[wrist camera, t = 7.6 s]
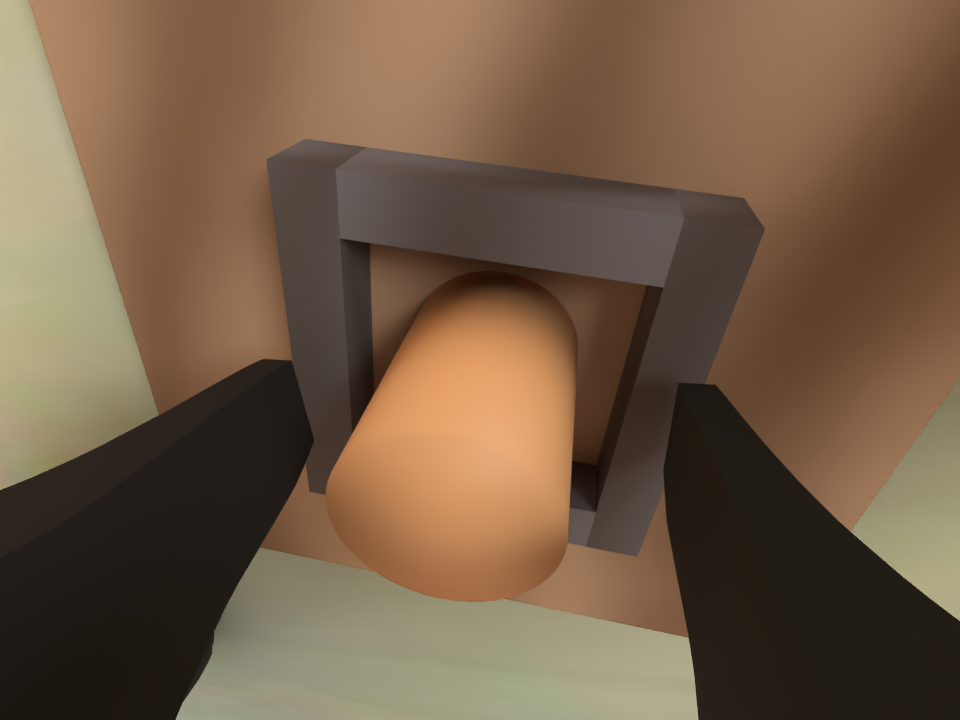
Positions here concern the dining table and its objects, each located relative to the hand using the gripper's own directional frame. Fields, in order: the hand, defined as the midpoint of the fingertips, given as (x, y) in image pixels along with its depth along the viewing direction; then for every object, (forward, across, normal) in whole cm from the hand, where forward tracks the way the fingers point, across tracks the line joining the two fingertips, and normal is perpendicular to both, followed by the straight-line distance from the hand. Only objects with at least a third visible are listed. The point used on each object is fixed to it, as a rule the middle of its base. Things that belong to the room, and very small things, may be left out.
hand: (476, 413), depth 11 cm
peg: (+2, 0, 0) cm, 2 cm away
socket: (+3, 0, 0) cm, 3 cm away
